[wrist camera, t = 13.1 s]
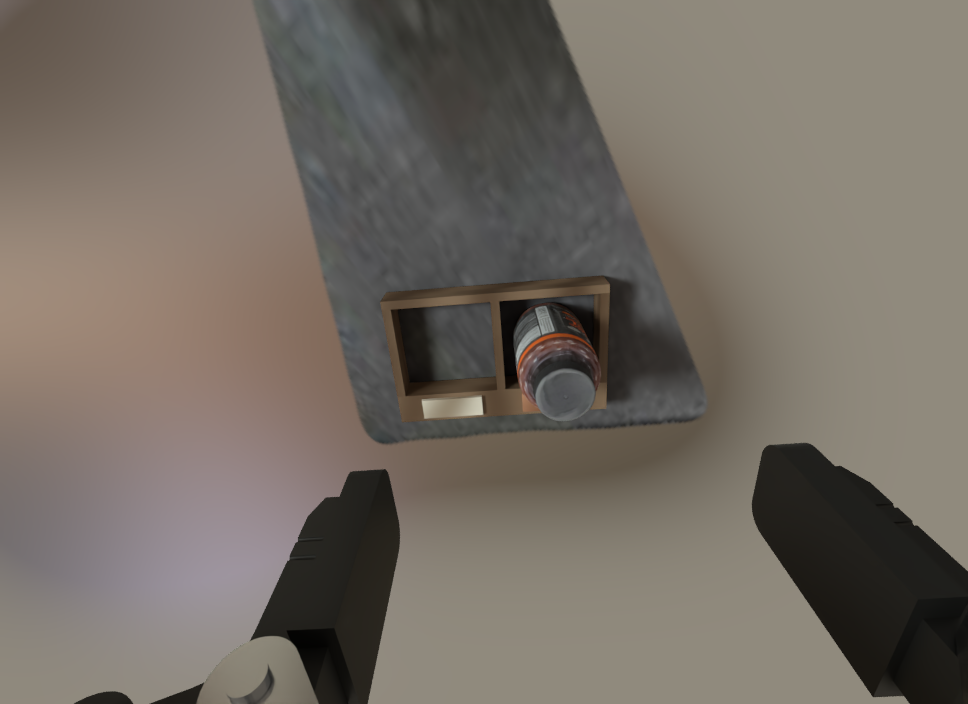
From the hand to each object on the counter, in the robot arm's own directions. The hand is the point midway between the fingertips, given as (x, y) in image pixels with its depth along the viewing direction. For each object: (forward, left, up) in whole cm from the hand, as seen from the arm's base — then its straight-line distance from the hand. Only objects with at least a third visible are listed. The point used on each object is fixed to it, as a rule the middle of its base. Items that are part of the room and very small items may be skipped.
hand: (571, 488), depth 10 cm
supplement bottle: (+6, +7, -30) cm, 31 cm away
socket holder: (+9, +4, -30) cm, 31 cm away
